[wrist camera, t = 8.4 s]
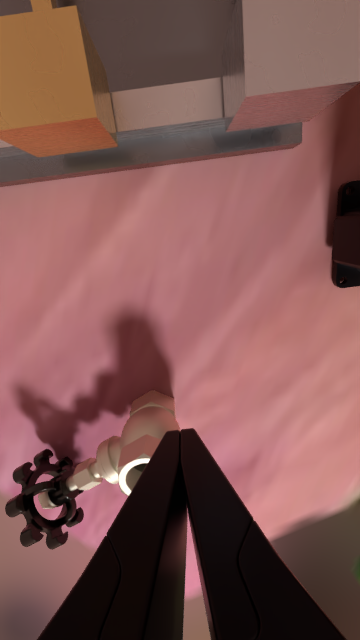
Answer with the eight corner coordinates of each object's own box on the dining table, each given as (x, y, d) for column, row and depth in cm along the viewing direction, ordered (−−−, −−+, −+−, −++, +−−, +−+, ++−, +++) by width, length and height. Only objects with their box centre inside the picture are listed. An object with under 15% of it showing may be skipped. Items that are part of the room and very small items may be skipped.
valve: (152, 366, 21) (35, 437, 23) (142, 426, 15) (-16, 516, 17) (198, 424, 23) (86, 485, 25) (207, 499, 17) (57, 572, 19)
